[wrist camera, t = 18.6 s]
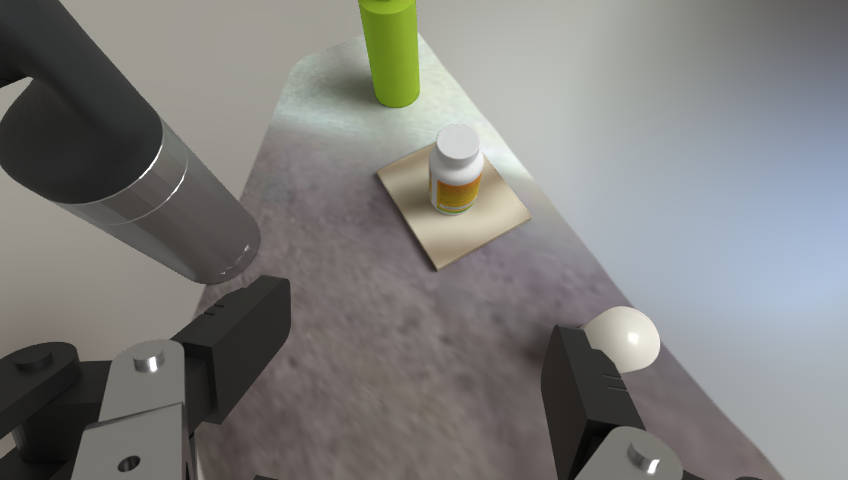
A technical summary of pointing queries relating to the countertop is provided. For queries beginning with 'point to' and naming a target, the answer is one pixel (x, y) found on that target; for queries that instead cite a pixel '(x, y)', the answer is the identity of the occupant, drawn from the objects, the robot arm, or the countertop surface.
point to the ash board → (451, 233)
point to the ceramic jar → (624, 338)
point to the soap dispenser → (392, 49)
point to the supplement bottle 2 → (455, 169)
